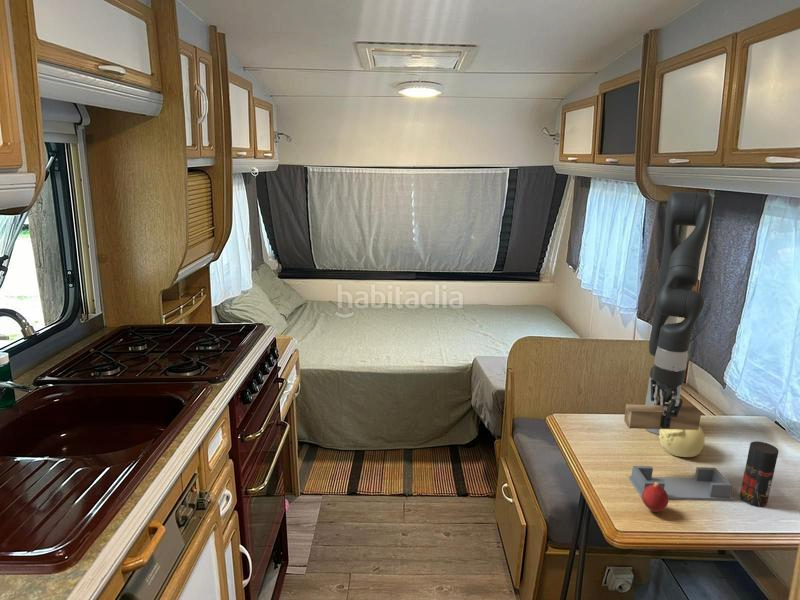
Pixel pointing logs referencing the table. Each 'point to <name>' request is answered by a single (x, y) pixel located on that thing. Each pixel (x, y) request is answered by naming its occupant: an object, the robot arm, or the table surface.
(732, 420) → the table surface
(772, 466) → the deodorant
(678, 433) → the sculpture
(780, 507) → the table surface
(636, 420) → the slat
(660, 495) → the onion
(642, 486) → the endcaps
